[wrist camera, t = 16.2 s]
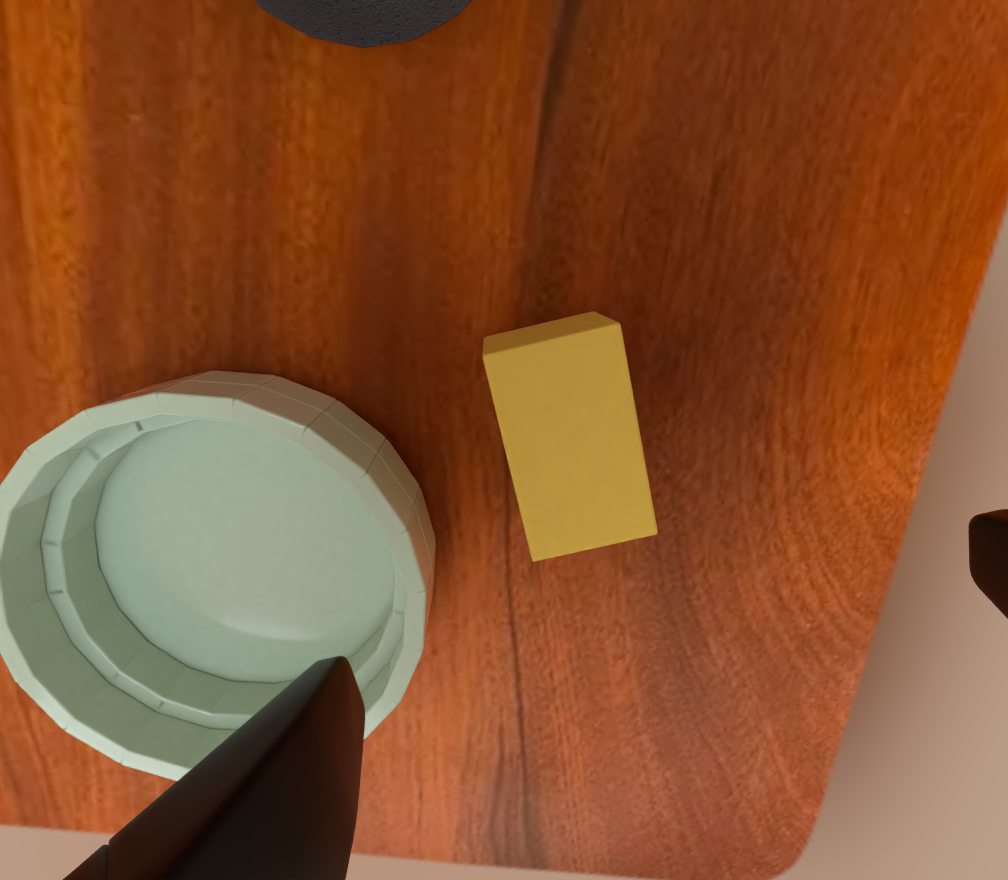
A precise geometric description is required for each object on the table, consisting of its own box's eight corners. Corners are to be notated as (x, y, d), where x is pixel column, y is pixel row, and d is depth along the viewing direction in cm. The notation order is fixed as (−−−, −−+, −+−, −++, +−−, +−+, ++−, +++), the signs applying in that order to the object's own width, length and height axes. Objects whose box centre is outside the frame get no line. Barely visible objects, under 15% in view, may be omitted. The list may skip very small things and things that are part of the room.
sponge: (627, 485, 21) (658, 534, 17) (524, 508, 21) (532, 562, 17) (594, 310, 19) (620, 322, 16) (482, 337, 20) (481, 355, 16)
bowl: (474, 654, 23) (471, 739, 19) (158, 723, 23) (88, 820, 19) (380, 328, 19) (351, 344, 15) (13, 416, 20) (-107, 455, 16)
